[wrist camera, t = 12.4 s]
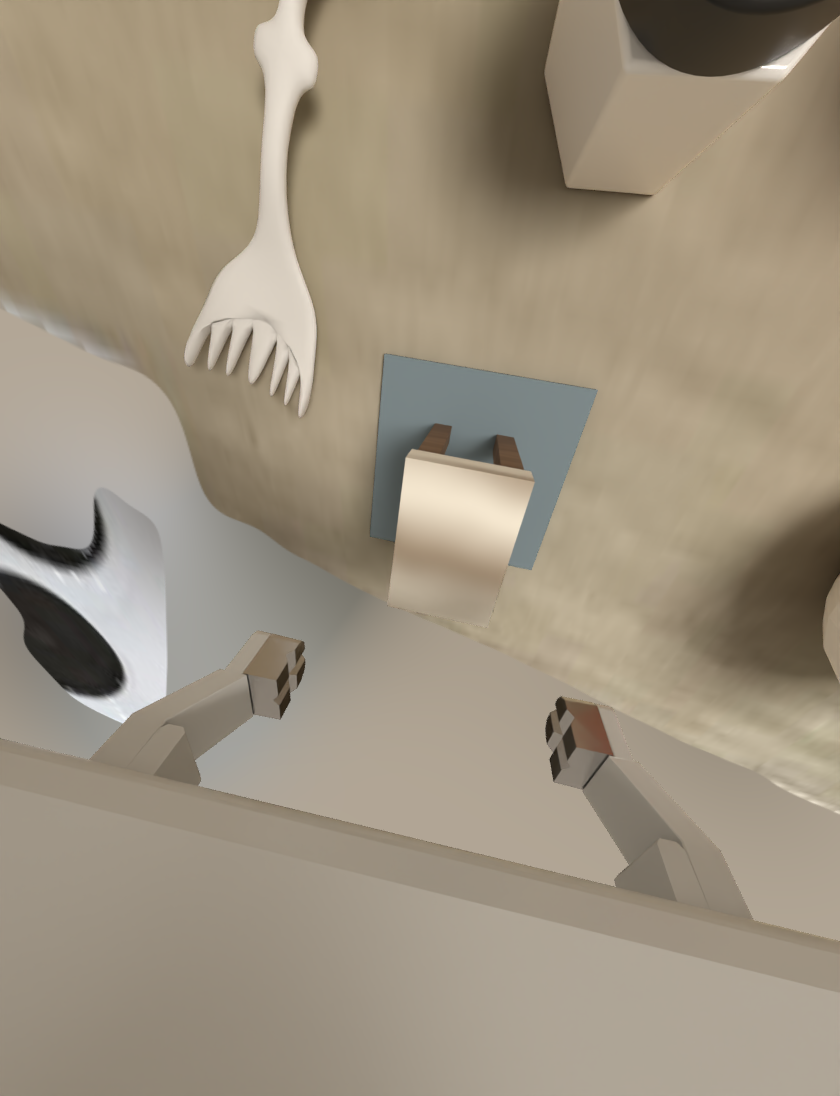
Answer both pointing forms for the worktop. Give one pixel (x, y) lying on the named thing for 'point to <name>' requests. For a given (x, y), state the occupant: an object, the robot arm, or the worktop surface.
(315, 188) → the worktop surface
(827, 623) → the white vase
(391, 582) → the stool
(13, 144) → the worktop surface
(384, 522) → the mat
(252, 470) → the worktop surface
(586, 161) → the jar
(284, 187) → the white spork
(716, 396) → the worktop surface
